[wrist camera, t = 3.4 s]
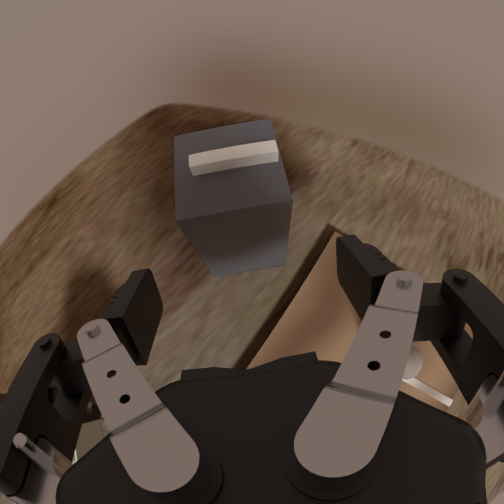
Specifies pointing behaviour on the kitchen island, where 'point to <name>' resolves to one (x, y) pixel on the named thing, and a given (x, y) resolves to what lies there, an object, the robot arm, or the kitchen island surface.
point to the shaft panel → (348, 334)
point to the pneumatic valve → (91, 427)
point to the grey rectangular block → (233, 196)
